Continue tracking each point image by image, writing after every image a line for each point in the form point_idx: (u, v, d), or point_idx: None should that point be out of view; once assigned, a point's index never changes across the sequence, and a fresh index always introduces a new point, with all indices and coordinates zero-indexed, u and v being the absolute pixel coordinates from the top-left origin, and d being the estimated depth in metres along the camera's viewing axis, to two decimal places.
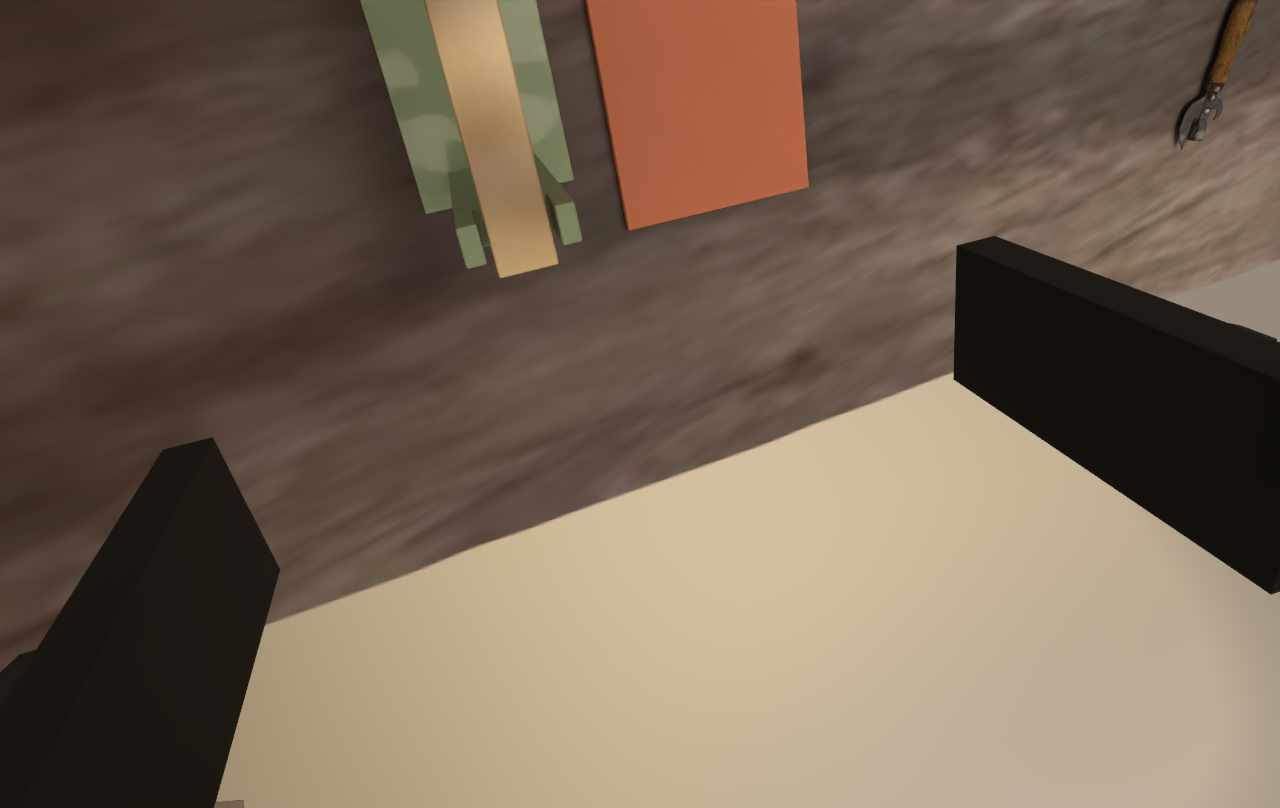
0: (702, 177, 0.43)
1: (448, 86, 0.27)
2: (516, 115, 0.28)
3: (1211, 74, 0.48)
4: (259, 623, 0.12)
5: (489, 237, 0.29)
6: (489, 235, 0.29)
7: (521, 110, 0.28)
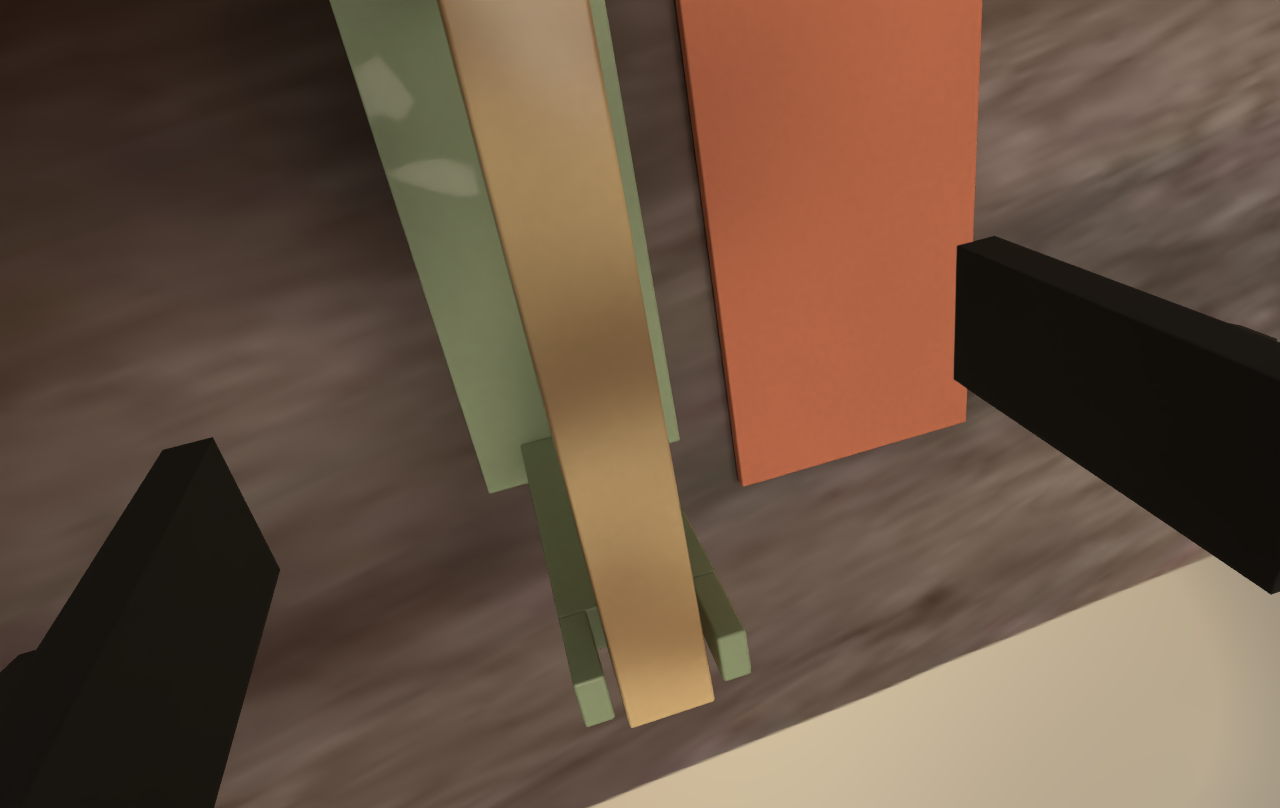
0: (838, 421, 0.34)
1: (577, 518, 0.17)
2: (674, 540, 0.18)
3: None
4: (259, 623, 0.12)
5: (621, 686, 0.20)
6: (621, 683, 0.20)
7: (682, 533, 0.18)
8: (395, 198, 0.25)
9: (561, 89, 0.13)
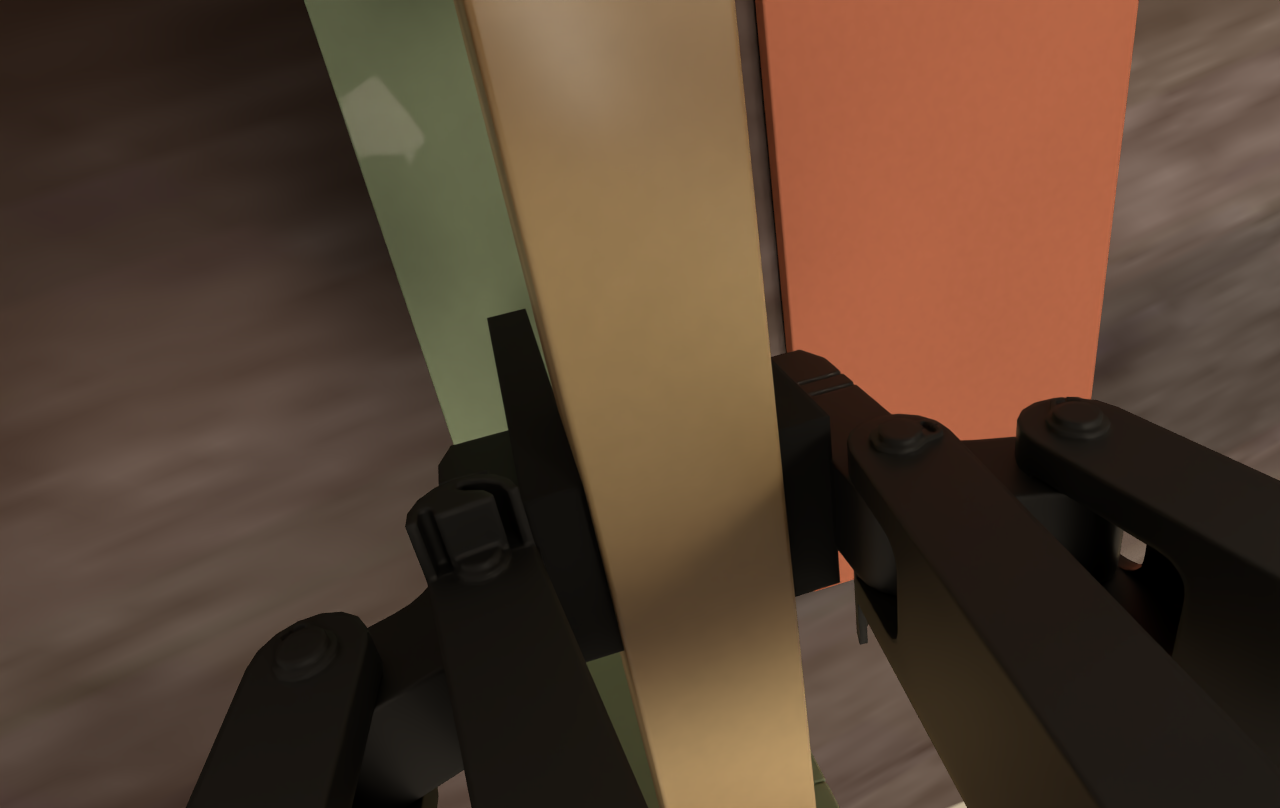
0: None
1: (661, 784, 0.11)
2: (799, 798, 0.12)
3: None
4: None
5: None
6: None
7: (811, 789, 0.12)
8: (394, 263, 0.19)
9: (676, 160, 0.07)
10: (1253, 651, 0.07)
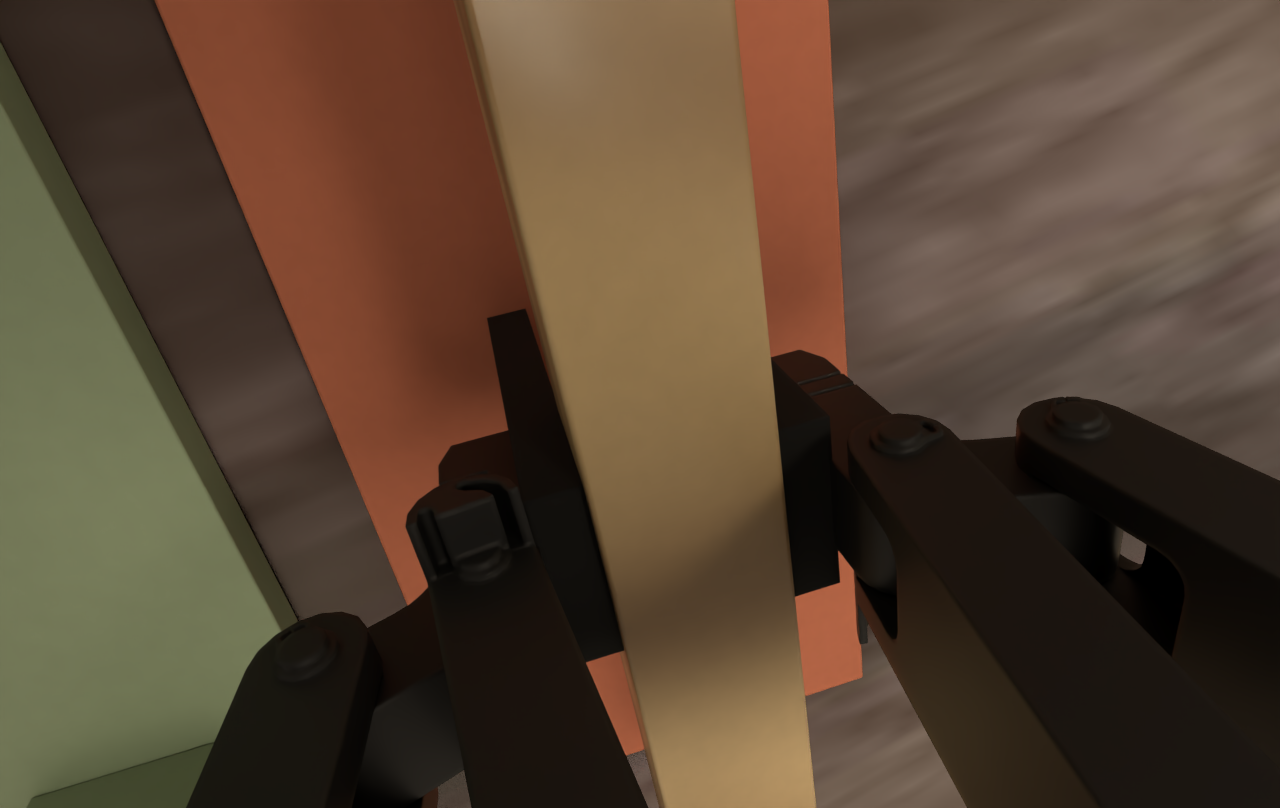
0: None
1: (662, 785, 0.11)
2: (799, 800, 0.12)
3: None
4: None
5: None
6: None
7: (811, 790, 0.12)
8: None
9: (676, 162, 0.07)
10: (1253, 651, 0.07)
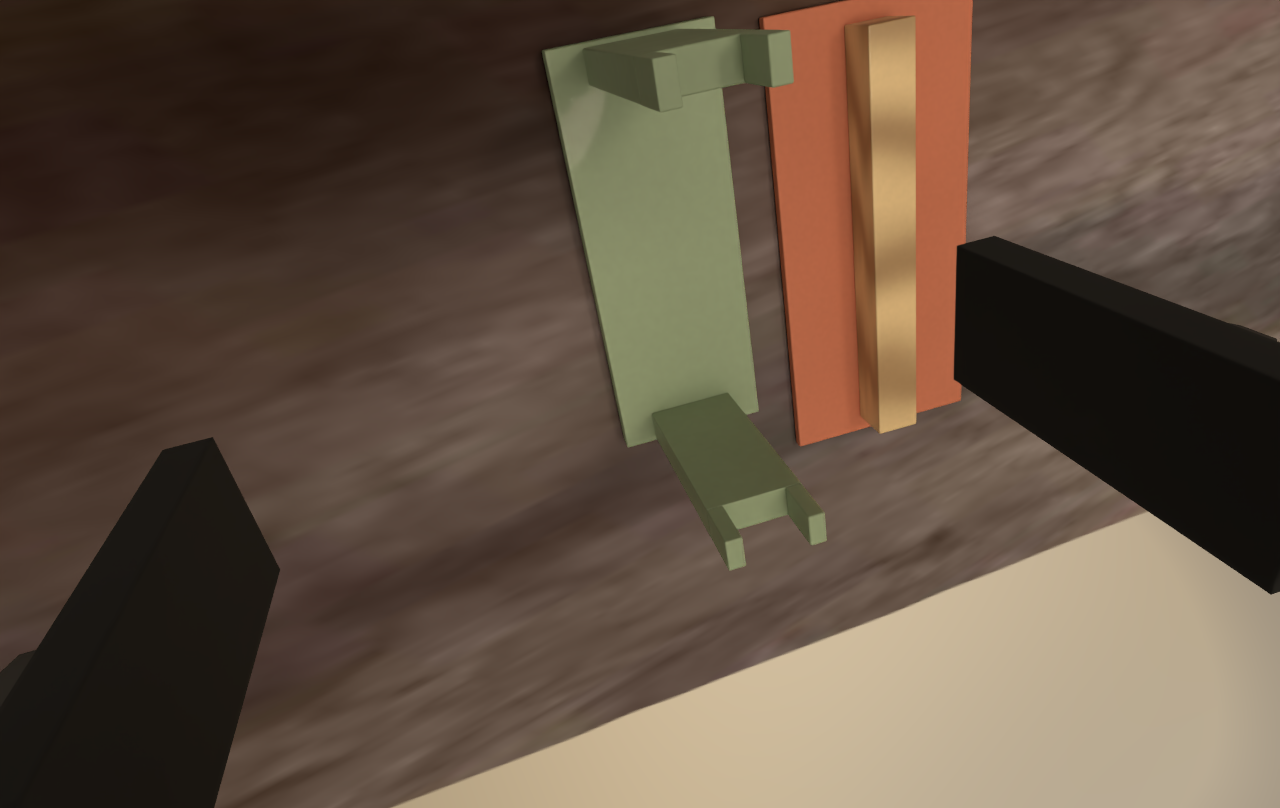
0: None
1: (877, 324, 0.42)
2: (911, 337, 0.43)
3: None
4: (259, 623, 0.12)
5: (879, 409, 0.45)
6: (879, 408, 0.45)
7: (915, 335, 0.43)
8: (587, 248, 0.39)
9: (902, 155, 0.38)
10: None
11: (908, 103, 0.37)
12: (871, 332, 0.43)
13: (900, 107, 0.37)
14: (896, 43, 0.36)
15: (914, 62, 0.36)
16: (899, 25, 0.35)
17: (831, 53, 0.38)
